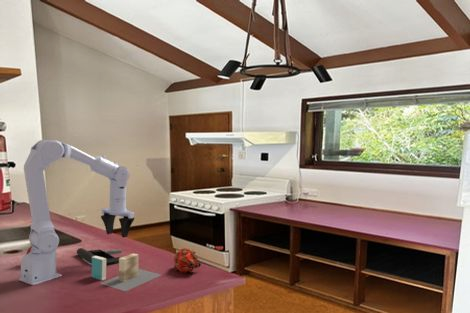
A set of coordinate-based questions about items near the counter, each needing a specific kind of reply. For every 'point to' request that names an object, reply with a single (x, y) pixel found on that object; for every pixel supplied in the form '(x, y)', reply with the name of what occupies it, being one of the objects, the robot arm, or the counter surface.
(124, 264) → the light wooden block
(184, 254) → the dragon fruit
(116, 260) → the door handle
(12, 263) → the counter surface
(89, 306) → the counter surface
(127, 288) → the mat
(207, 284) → the counter surface
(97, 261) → the tile
